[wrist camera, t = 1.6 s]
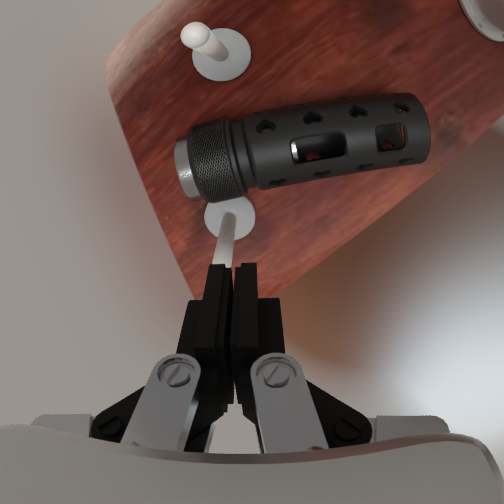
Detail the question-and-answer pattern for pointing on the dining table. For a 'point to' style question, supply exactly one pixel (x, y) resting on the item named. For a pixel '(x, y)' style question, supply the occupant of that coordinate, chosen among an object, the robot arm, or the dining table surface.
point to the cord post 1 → (217, 51)
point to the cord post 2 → (229, 225)
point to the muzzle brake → (300, 145)
